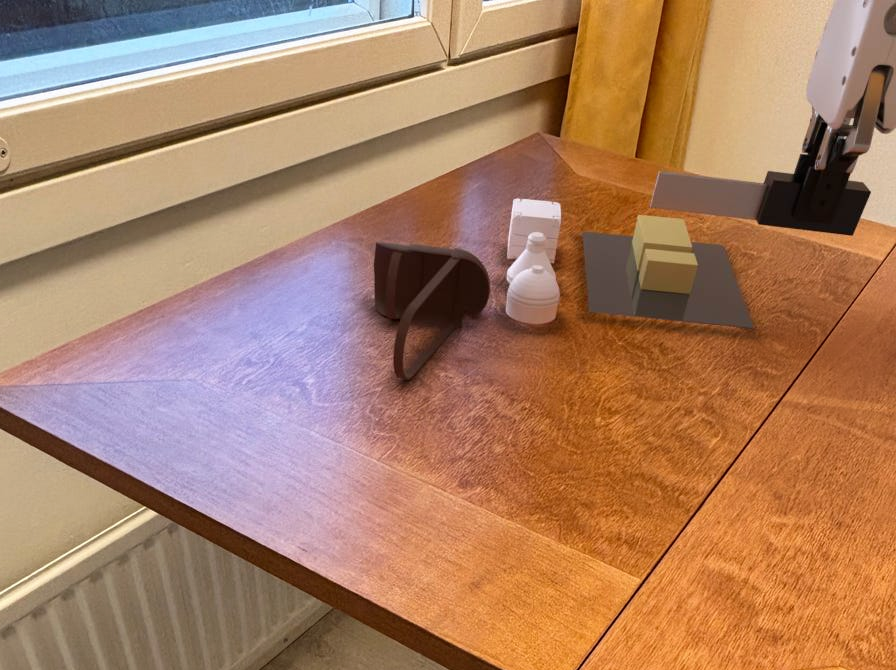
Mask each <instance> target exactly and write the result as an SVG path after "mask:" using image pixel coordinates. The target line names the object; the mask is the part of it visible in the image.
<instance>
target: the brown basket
mask: <svg viewBox="0 0 896 670" xmlns="http://www.w3.org/2000/svg"><path fill="white" fill-rule="evenodd" d="M373 278H374V280H373V282H374V287H373V288H374V289H373V291H374V292H373V296H374V297H373V298H374V305H375V308H376V310H377V312H378V313H379V314H380V315H382V316H384V317H386V318H387V319H393V320H400V321H399V324H398V327H397V331H396V335H395V340H394V345H393V355H392V360H393V361H392V365H393V372H394V375H395V376H396V378H399V379H403V380H406V381H407V380H411V379H412V378H414V376H415V375H416V374H417V373H418V372H419V370H420V369H422V367H423V366H424V365H425V364H426V363H427V362H428V360H430V358H431V357H432V356H433V355H434V354H435V352H436V351H437V350H438V349H439V348H440V347H441V346H442V345H443V344H444V342H445V341H446V340H447V339H448V338H449V336H450V335H451V334H452V333H453V332H454V330H455V329H456V328H461V327H462V326H463V322H464V313H465V310H466V311H467V312H469V314H470V316H471V318H472V320H475V319H476V318H477V317H478V316H479V315H480V314H481V313H482V312H483V311H484V309H485V308H486V306H487V305H488V302H489V298H490V294H491V280H490V275H489V272H488V271H487V268H486V267H485V265H484V264H483V262H482V261H481V260H480V259H479V258H478V257H477V256H476V255H475V254H473V253H472V252H470V251H468V250H466V249H465V250H464V249H461V248H457V247H454V248H447V247H440V246H432V245H423V244H414V243H411V244H409V245H408V244H399V243H393V242H386V241H385V242H384V241H377V242H375V250H374V258H373ZM411 324H418V325H425V326H432V327H440V328H443V329H442V331H440V333H439V334H438V335H437V336H436V337H435V338H434V340H432V341H431V343H430V344H429V345H428V346H427V347H426V348H425V350H423V352H421V354H420V355H419V356H418V357H417V358H416V360H414V361H413V363H412V364H411V365H410V366H409V367H408V368H407V369H406V371H405V369H404V352H405V345H406V341H407V340H406V339H407V335H408V332H409V329H410V325H411Z"/></svg>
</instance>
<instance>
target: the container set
mask: <svg viewBox="0 0 896 670" xmlns="http://www.w3.org/2000/svg"><path fill="white" fill-rule="evenodd" d="M561 207H562V206H561V203H559V202H557V201H549V200H540V199H539V200H538V199H527V198H519V197H517V198H515V199H513V201H512V207H511V214H510V215H511V216H510V223H509V230H508V239H507V254H506V255H507V256H506V257H507V258H506V259H507V260H514V262H513V263H512V264H511V265H510V266H509V268H508V269H507V271H506V281H507V283H508V284H509V285H508V289H507V293H506V302H505V303H506V304H505V313H506V315H508V316H509V317H510V318H511V319H513V320H515V321H518V322H521V323H524V324H529V325H542V324H547V323H550V322H552V321H554V320H555V319H556V318H557V312H558V306H559V302H560V296H561V294H560V287H559V285H558V282H557V280H556V279H557V275H556V273H555V270H554V268H553V266H552V264H555V259H556V254H557V247H558V242H559V237H560V232H561V231H560V230H561V225H562V210H561V209H562V208H561Z"/></svg>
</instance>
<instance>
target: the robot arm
mask: <svg viewBox="0 0 896 670" xmlns="http://www.w3.org/2000/svg"><path fill="white" fill-rule="evenodd" d="M805 89H806V90H805V97H806V100H807V101H808V103H809V104H810V106H811V113H812V114H811V117H810V119H809V124H808V127H807V130H806V133H805V136H804V139H803V142H802V146H801V153H800V154H799V157H798V159H797V162H796V165H795V169H794V172H793V174H799V175H806V178H805V181H804V184H803V187H802V190H801V193H800V196H799V199H798V202H797V205H796V208H795V211H794V213H793V217H794V219H795V220H796V221H800V222H812V223H823V224H829V223H831V222H832V221H833V220H834V218H835V215H836V212H837V209H838V207H839V204H840V201H841V199H842V196H843V193H844V191H845V188H846V185H847V182H848V180H849V181H850V177H851V174H852V173H853V172H854V170H855V169H856V168H855V167H856V166H857V162H858V159H859V156H863V155H864V154H867V153H868V152H869V150H870V148H871V145H872V140H873V136H874V132H875V129H876V130H877V131H878V132H879V133H880V134H884V135H888V134H891V133H892V132H893V131H894V130H895V129H896V0H834V1H833V3H832V6H831V9H830V11H829V14H828V17H827V19H826V23H825V26H824V28H823V32H822V35H821V37H820V40H819V43H818V46H817V50H816V53H815V55H814V59H813V63H812V65H811V69H810V72H809V76H808V79H807V84H806V88H805ZM852 119H853V120H852ZM851 121H852V124H851Z"/></svg>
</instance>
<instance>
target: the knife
mask: <svg viewBox="0 0 896 670" xmlns="http://www.w3.org/2000/svg"><path fill="white" fill-rule="evenodd" d="M805 178H806V175H799V174H794V173H789V172H781V171H773V170H767V172H766V175H765V178H764V181H763V182H756V181H748V180H740V179H739V180H738V179H731V178H723V177H722V178H721V177H716V176H715V177H714V176H705V175H697V174H689V173H682V172H681V173H680V172H672V171H664V170H658V173H657V178H656V181H655V185H654V188H653V192H652V197H651V201H650V203H649V207H650V209H658V210H665V211H666V210H667V211H676V212H683V213H692V214H699V215H707V216H716V217H726V218H734V219H742V220H751V221H756V223H757V224H758V225H759V226H769V227H775V228H784V229H792V230H798V231H799V230H800V231H809V232H818V233H824V234H825V233H826V234H834V235H842V236H850V237H851V236H852V237H853V236H854V234H855V232H856V230H857V227H858V224H859V222H860V220H861V217H862V215H863V213H864V210H865V209H866V206H867V203H868V201H869V199H870V196H871V195H872V191H871V190H870V189H869V188H868V186H867V185H866V183H864V182H863V181H856V180H850V179H849V180H848V182H847V185H846V188H845V191H844V193H843V196H842V199H841V201H840V204H839V207H838V209H837V212H836V215H835V218H834V220H833V221H832V222H831V223H829V224H823V223H812V222H800V221H796V220H795V219H794V217H793V213H794V211H795V208H796V205H797V202H798V199H799V196H800V193H801V190H802V187H803V184H804V181H805Z"/></svg>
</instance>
